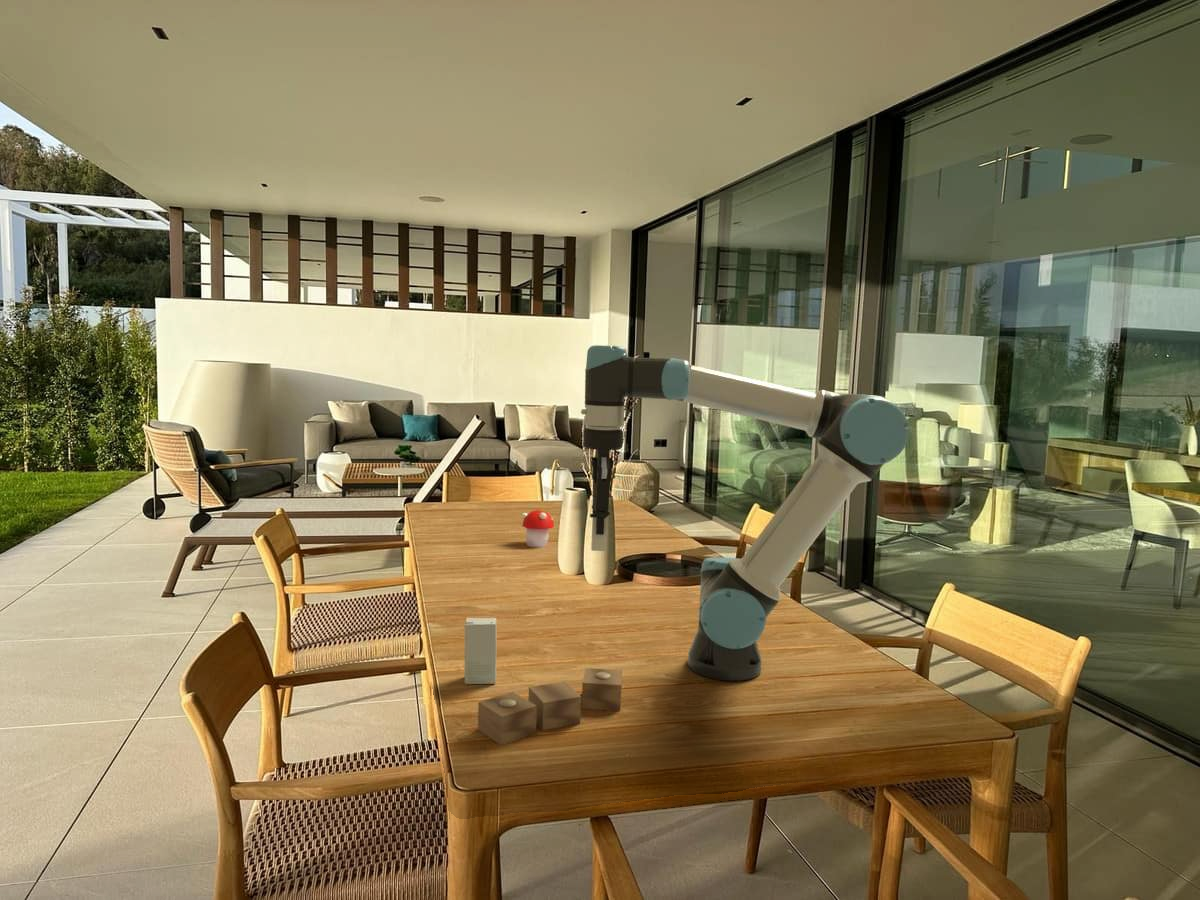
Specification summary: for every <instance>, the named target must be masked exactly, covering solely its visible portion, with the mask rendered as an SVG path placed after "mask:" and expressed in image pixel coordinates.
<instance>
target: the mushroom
mask: <svg viewBox="0 0 1200 900" xmlns="http://www.w3.org/2000/svg"><path fill="white" fill-rule="evenodd" d="M521 519H522V520H523V521H522V525H521V527H524V528H525V529H526V530H525V540H526V546H528V547H530V548H544V547H546V546H547V544H548V540H549V530H550V529H553V528H554V526H555V523H554V518H553V517H551V515H550V514H549V513H548V511H545V510H544V511H543V510H541V509H538V510H537V509H536V510H531V511H530V512H529V513H526V512H523V513H521ZM548 529H549V530H548Z"/></svg>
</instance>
